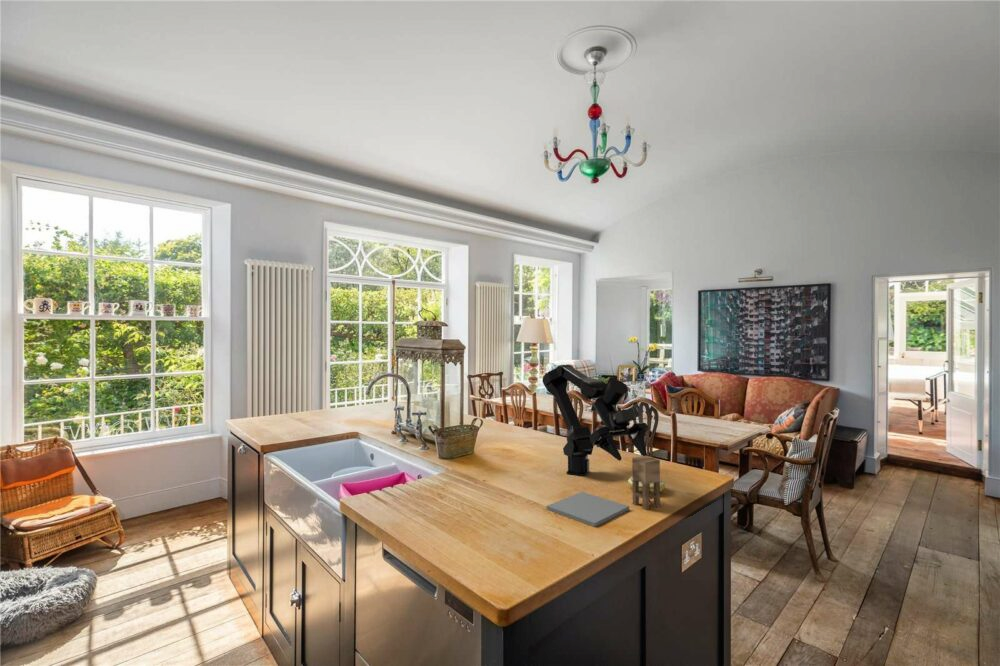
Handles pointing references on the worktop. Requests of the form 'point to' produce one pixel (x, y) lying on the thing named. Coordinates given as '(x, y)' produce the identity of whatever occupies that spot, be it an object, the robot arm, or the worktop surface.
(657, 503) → the stool
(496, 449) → the worktop surface
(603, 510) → the mat
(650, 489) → the decorated donut
